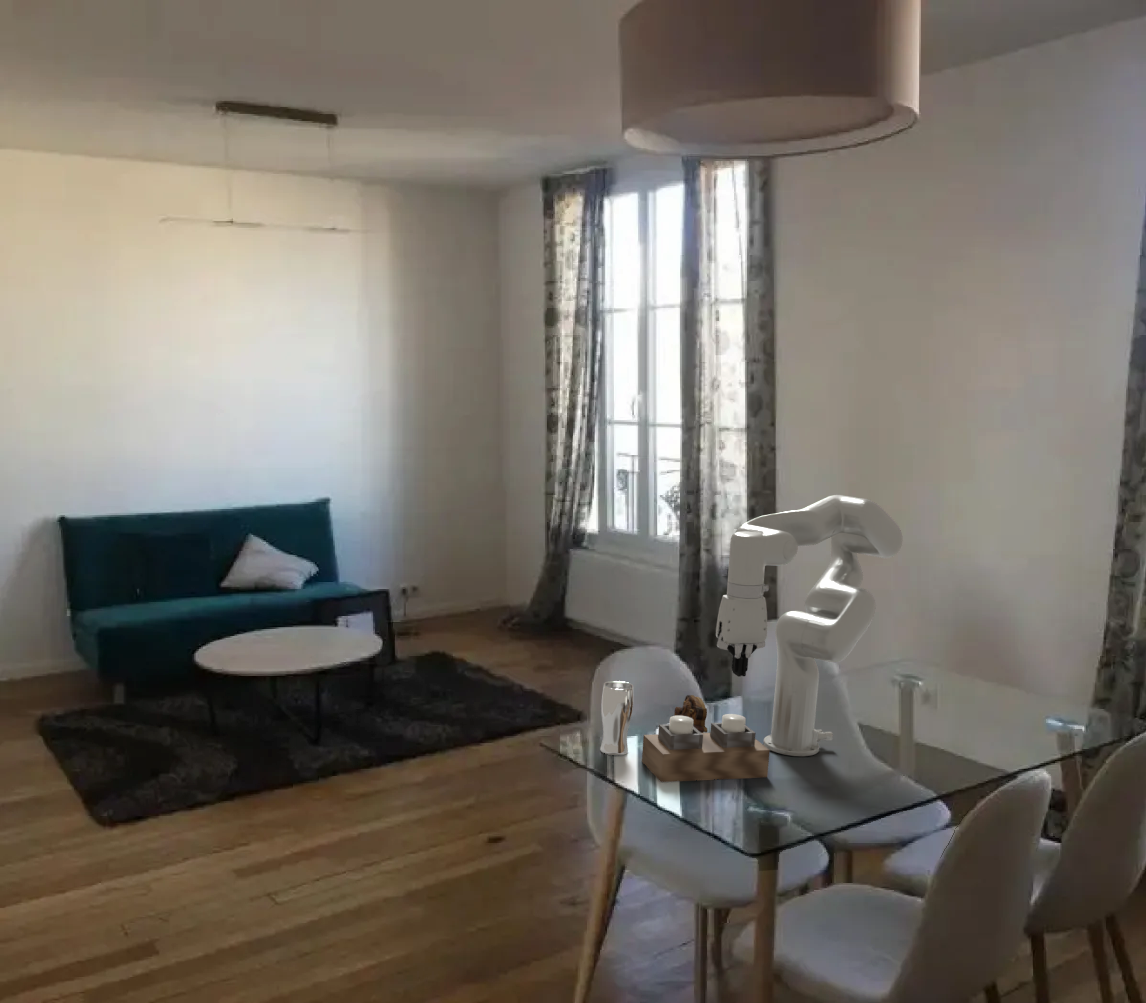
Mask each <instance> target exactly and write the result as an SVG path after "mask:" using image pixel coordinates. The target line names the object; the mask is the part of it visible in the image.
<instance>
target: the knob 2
mask: <svg viewBox="0 0 1146 1003" xmlns="http://www.w3.org/2000/svg"><path fill="white" fill-rule="evenodd" d="M746 720H747V719H746V717H745V716H743V715H740V714H735V713H727V714H723V715H722V717H721V723H722V726H721V729H723V730H724V731H725V732H726V733H730V732H745V725H746Z"/></svg>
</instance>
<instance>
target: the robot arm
mask: <svg viewBox="0 0 1146 1003" xmlns="http://www.w3.org/2000/svg"><path fill="white" fill-rule="evenodd" d="M829 538H830V545H831V546H830V561H829V564H828V566H827V568H826V569H825V570H824V572H823V573H822V574H821V575H820V577H819V578H818V580H817V581H816V582H815V584H814V585H813V586H812V588H811V589H810V590H809V591H808V593H807V594H806V597H805V599H804V610H805V611H801V610H790V611H786V612H785V613H783V614H782V615H781V616H780V617H779V618H778V619H777V622H776V625H775V643H776V654H777V655H776V657H777V659H776V661H777V662H776V672H775V673H776V676H775V685H774V695H773V696H774V697H773V698H774V699H773V709H772V721H771V732H770V734H769V735H767V736H765V737H764V738H763V742H762V744H763V745H764V746H765V747H767V748H768V749H769V750H770V751H772V752H774V753H777V754H780V755H785V756H791V757H808V756H813V755H816V754H819V752H820V745H819V743H820V742H821V741H832V740H833V739H834V733H833V732H832V731H823V729H816V728H815V722H816V714H817V712H816V711H817V702H818V701H817V700H818V692H819V683H820V682H819V680H820V672H819V668H818V665H817V662H816V660H820V661H823V662H827V663H831V664H832V663H833V664H837V663H840V662H842V661H844V660H846V659H847V657H848V656H849V655H850V653H851V652H852V651H853V650H854V648H855V647H856V645H857V643H858V642H859V641H860V639H862V637H863V636H864V635H865V633H866V632H867V631H868V628H869V627H870V625H871V624H872V622H873V620H874V617H875V613H876V599H875V596H874V595H873V593H871V592H870V591H869V590H867V589H866V588H863V587H860V586H861V585H862V582H863V580H864V574H863V572H864V571H863V569H862V566H861V564H860V562H859V559H858V558H859V557H858V554H861V555H865V556H870V557H876V558H881V559H890V558H893V557H895V556H896V555H897V554H898V553H900V551H901V548H902V546H903V532H902V529H901V528H900V526H899V524H898V523H897V522H896V521H895V519H893V518H892V517H891V515H889V514H888V512H886V510H884V508H882V507H881V506H880V505H879V504H878V503H876V502H875V501H873V500H871V499H868V498H862V497H855V496H850V495H844V494H834V495H828V496H827V497H825V498H822V499H821V500H818V501H816V502H814V503H812V504H809V505H808V506H806V507H803V508H800V509H797V510H795V509H794V510H788V511H783V512H782V511H781V512H777V513H770V514H764V515H761V516H757V517H755V518H752V519H750V520H748V521H746V522H744V523H742V525H740V526H739V527H738V528H737V529H736V530H735V532H734V533H733V534H732V535H731V538H730V543H729V554H728V555H729V557H728V569H727V572H728V573H727V587H726V594H723V595H722V597H721V601H720V604H719V608H718V614H717V620H716V627H715V636H716V638H717V642H716V646H717V648H719V649H720V650H725V651H728V652H729V654H730V655H731V656H732V658H731V672H732V673H733V674H734V675H735V676H737V677H746V675H747V671H748V669H749V668H748V666H749V659H750V658H751V656H752V654H753V653H754V652H755V651H757V650H758V649H762V648H765V647H766V640H767V634H768V611H767V601H766V597H764V593H765V592H768V591H769V589H770V587H769V584H765V569H766V566H777V567H779V566H780V567H781V566H785V565H788V564H790V563H791V562H792V561H793V560H794V559H795V557H796V556H797V554H798V547H812V546H815V545H819V544H820V543H822V542H824V541H826V540H827V539H829Z"/></svg>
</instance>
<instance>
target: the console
mask: <svg viewBox="0 0 1146 1003" xmlns="http://www.w3.org/2000/svg"><path fill="white" fill-rule="evenodd" d="M721 726H722V722H710V731H709V732H704V733H701V732H699V731H698V730H697V729H696V728H695V727H694V726H693V734H672V733H671V732H670V731H669V724H667V723H666V724H658V732H657V734H656V733H655V734H643V738H642V740H643V742H642V754H641V762H642V764H643V765H644V764H645V765H646V766H647V767H646V766H645V765H644V766H645V767H646V768H647V769H648V770H649V771H650V772H651V773H652V774H653V775H654V776H655V778H656V779H657V780H658V781H659V782H660V783H670V782H671V783H672V782H675V783H676V782H692V781H693V782H695V781H696V780H697V781H714V779H715V780H717V779H719V780H734V779H738V780H739V779H759V778H761V779H762V778H768V773H769V764H770V763H769V762H770V751H771V750H769V749H768V748H767V747H765V746H764V744H763V743H762V742H760V741H759V740H758V739H756V731H754V730H752V728H750V727H749V726H748V725H746V724H745V732H730V733H726V732H725V731H724V730H723V729H721Z"/></svg>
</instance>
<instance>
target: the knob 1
mask: <svg viewBox="0 0 1146 1003" xmlns="http://www.w3.org/2000/svg"><path fill="white" fill-rule="evenodd" d="M693 721H694V720H693V719H692V718H690V717H687V716H674V715H673V716H670V717H669V731H670V732H671V733H672V734H693Z"/></svg>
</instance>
